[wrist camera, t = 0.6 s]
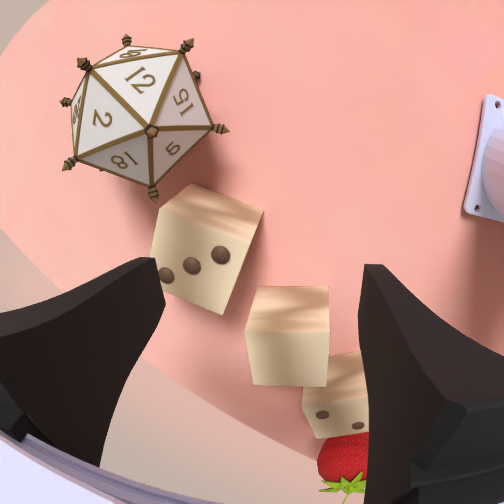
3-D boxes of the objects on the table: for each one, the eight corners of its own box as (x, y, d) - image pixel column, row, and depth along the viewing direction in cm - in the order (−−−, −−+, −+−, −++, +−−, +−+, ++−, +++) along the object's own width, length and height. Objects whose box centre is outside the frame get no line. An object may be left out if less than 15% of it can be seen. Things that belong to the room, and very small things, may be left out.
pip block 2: (364, 348, 24) (369, 397, 20) (371, 385, 26) (375, 431, 22) (303, 360, 26) (299, 408, 21) (317, 395, 28) (314, 440, 23)
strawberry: (343, 441, 31) (340, 518, 22) (306, 413, 29) (297, 501, 20) (390, 424, 29) (396, 506, 20) (358, 392, 27) (361, 488, 18)
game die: (179, 129, 23) (76, 218, 18) (135, 30, 17) (5, 109, 12) (280, 133, 18) (153, 259, 13) (234, -9, 12) (40, 78, 7)
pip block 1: (264, 209, 21) (249, 244, 16) (240, 272, 23) (222, 316, 19) (190, 182, 21) (156, 208, 16) (173, 245, 23) (142, 283, 19)
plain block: (328, 285, 22) (329, 332, 18) (326, 338, 24) (326, 386, 20) (257, 285, 23) (244, 330, 19) (263, 337, 26) (253, 384, 21)
